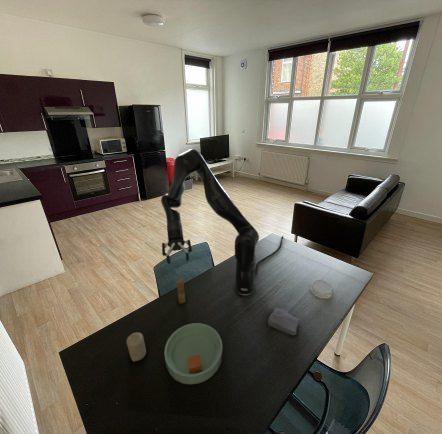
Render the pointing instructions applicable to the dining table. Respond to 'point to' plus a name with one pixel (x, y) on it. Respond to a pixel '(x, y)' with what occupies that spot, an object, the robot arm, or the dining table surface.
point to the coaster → (321, 289)
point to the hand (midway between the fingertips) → (178, 262)
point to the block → (195, 364)
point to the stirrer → (181, 290)
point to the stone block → (284, 321)
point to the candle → (136, 346)
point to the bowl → (193, 352)
